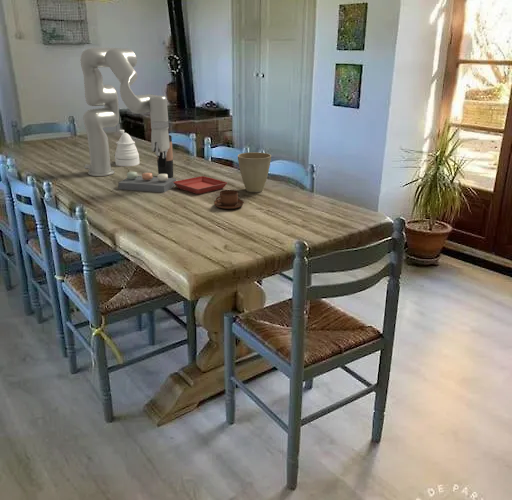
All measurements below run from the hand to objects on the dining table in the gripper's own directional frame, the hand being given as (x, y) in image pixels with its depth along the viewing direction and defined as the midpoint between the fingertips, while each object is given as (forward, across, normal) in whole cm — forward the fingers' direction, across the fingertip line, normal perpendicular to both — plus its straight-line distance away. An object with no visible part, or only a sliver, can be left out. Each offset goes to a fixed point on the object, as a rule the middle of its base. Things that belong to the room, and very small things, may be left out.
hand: (162, 166), depth 233 cm
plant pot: (+11, -7, +40) cm, 42 cm away
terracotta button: (+7, 0, -8) cm, 11 cm away
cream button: (+7, 0, -1) cm, 7 cm away
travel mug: (+10, -20, -8) cm, 24 cm away
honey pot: (+9, -43, -40) cm, 59 cm away
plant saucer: (+11, -4, +16) cm, 20 cm away
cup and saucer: (+11, +20, +36) cm, 43 cm away
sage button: (+7, 0, -16) cm, 17 cm away
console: (+10, 0, -8) cm, 13 cm away
